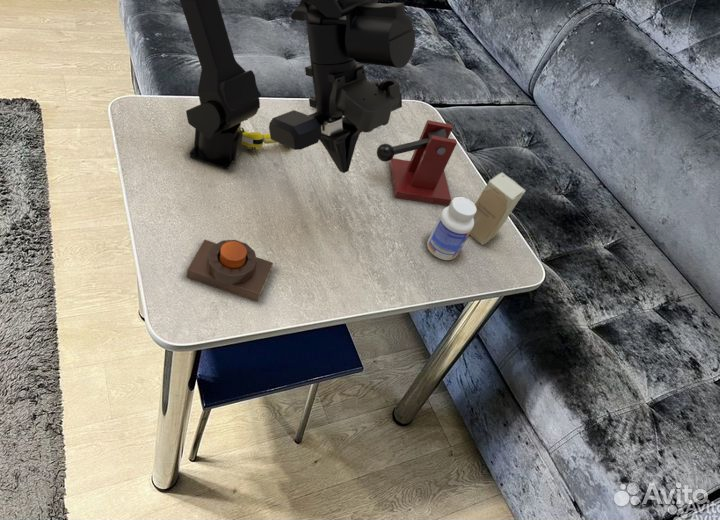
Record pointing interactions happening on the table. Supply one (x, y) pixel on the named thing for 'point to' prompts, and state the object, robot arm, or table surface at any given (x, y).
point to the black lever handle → (405, 146)
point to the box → (495, 207)
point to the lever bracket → (425, 168)
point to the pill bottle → (452, 229)
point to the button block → (230, 271)
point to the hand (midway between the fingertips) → (343, 171)
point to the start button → (233, 254)
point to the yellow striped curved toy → (255, 139)
